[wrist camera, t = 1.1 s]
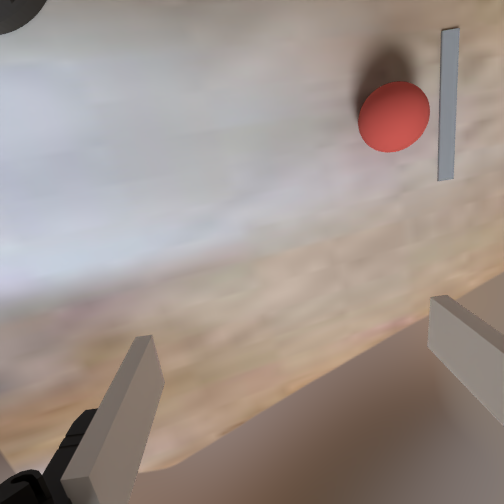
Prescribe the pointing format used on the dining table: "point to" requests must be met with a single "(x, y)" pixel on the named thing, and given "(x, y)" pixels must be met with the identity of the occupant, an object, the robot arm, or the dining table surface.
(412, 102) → the ball
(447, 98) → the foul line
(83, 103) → the dining table surface
